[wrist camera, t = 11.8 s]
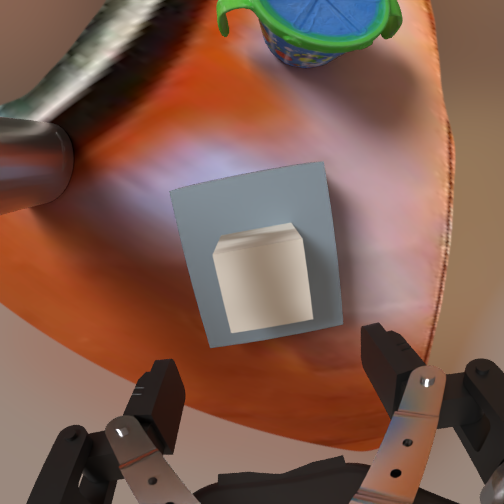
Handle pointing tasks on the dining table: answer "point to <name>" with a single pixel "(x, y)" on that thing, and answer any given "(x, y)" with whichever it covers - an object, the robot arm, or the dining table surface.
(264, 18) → the snack cup
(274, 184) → the slate stand
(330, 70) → the dining table surface
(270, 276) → the cream cube
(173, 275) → the dining table surface
